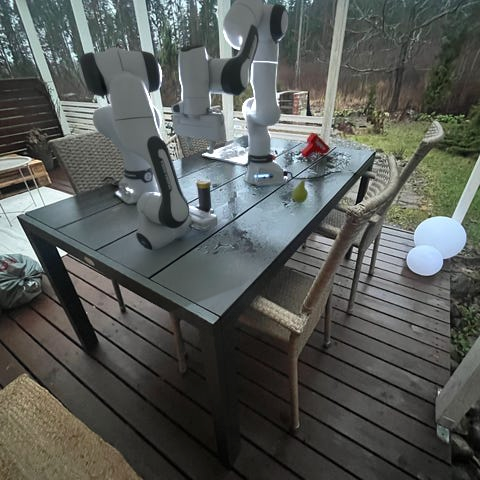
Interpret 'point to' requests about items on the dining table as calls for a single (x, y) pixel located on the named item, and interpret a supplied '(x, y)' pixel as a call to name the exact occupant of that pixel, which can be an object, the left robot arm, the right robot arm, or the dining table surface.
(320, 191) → the dining table surface
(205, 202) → the jar
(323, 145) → the toy gun
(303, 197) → the fruit
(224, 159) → the relief map
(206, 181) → the lid
